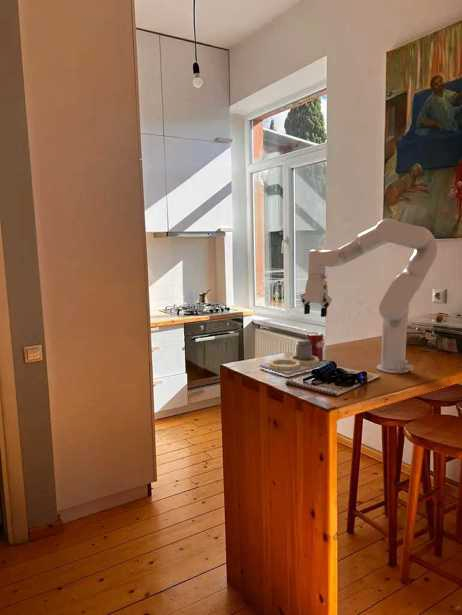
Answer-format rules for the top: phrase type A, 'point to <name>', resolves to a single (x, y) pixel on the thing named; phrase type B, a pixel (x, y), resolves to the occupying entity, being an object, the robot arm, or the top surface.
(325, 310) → the robot arm
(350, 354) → the top surface
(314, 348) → the soda can
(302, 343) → the seated plug
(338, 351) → the top surface
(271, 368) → the octagonal socket board
